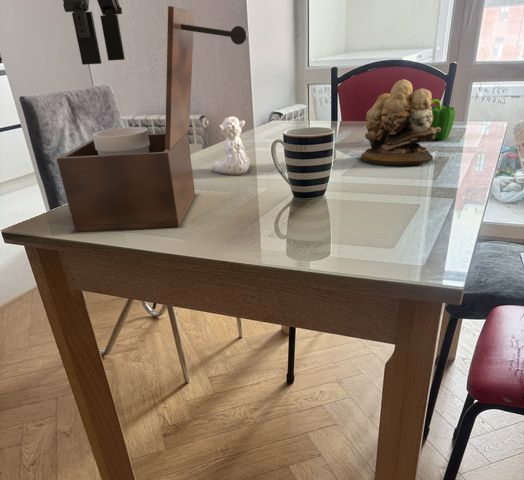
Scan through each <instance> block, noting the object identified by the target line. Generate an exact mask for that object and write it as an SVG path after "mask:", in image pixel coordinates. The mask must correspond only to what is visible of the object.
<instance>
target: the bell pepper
mask: <svg viewBox="0 0 524 480" xmlns="http://www.w3.org/2000/svg"><path fill="white" fill-rule="evenodd" d="M431 101H432V103H431V108H432V114H433V120H432V124H431V126H430V127H433V128H436V127H440V128H441V131H440V132H439V133H437V134H436V135H435V138H434V139H433V140H432V141H436V140H437V141H441V140H443V141H444V140H447V139H448V137H449V136H450V134H451V131H452V128H453V125H454V122H455V118H456V109H455V107H453V106H444V105H442V104H441V103H442V102H441V100H439V99H433V98H432V99H431ZM433 104H436V106H433Z"/></svg>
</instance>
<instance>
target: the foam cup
mask: <svg viewBox="0 0 524 480" xmlns="http://www.w3.org/2000/svg"><path fill="white" fill-rule="evenodd" d="M148 134H149V131H148V128H146V127H132V126H131V127H120V128H111V129H110V128H109V129H105V130H104V129H103V130H100V131H96V132H93V133H92V139H93V140H94V144H95V149H96V150H97V152H98V155H116V154H135V153H149V145H150V142H149V136H148Z"/></svg>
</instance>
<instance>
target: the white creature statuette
mask: <svg viewBox="0 0 524 480" xmlns="http://www.w3.org/2000/svg"><path fill="white" fill-rule="evenodd" d="M245 124H246V121H245V120H244V119H243V120H239V118H238V117H236V116H233V115H232V116H228V117H225V118H224V120H223V122H222V123H221V124H219V125H218V126H219V128H220V130H221V134H222V135H223V136H224V138H226V139H225V142H224V146H223V152H224V159H217V160H215V161H214V162H213V163H212V165H211V168H212V170H213V171H214V172H215V173H220V174H226V175H231V176H234V175H243V174H245V173H247V172H248V170H249V168H250V166H251V160H250V158H249V157H248V155H247V153H246V146H245V144H244V141H242V139H241V137H240V136H241V133H242V131H243V130H242V128H243V127H244V126H245Z"/></svg>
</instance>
